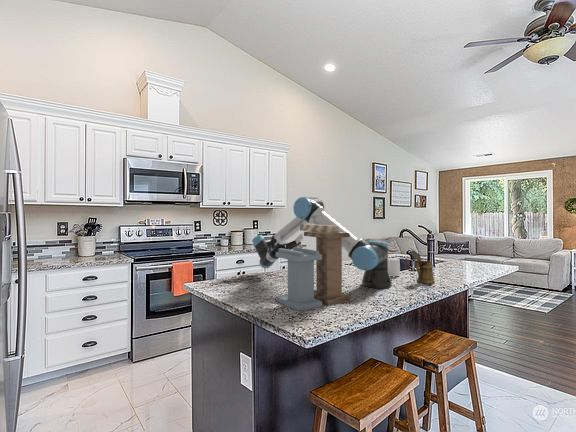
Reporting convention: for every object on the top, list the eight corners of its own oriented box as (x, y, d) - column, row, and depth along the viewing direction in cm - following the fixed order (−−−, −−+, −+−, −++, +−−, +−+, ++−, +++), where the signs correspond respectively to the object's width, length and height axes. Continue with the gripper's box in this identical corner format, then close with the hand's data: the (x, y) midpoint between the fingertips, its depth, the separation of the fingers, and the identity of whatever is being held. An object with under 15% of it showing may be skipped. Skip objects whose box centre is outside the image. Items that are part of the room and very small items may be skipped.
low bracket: (275, 300, 148) (275, 248, 148) (298, 296, 154) (298, 247, 154) (297, 310, 132) (297, 252, 132) (322, 306, 139) (321, 250, 138)
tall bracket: (304, 296, 156) (303, 231, 155) (324, 292, 162) (324, 230, 161) (327, 305, 140) (327, 233, 140) (349, 301, 146) (349, 232, 146)
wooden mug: (406, 281, 186) (406, 249, 186) (426, 279, 190) (426, 248, 190) (417, 285, 177) (417, 251, 177) (438, 283, 182) (438, 250, 181)
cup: (402, 276, 200) (402, 259, 200) (384, 277, 197) (384, 260, 197) (394, 274, 208) (394, 257, 208) (377, 275, 205) (377, 258, 205)
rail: (300, 230, 166) (300, 224, 166) (305, 230, 168) (305, 223, 168) (333, 233, 144) (332, 225, 144) (338, 233, 145) (338, 225, 145)
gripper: (295, 257, 197) (312, 241, 181) (256, 261, 184) (271, 244, 168) (291, 246, 200) (308, 229, 184) (253, 248, 187) (268, 231, 171)
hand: (291, 236), depth 176 cm, fingers open, 13 cm apart
